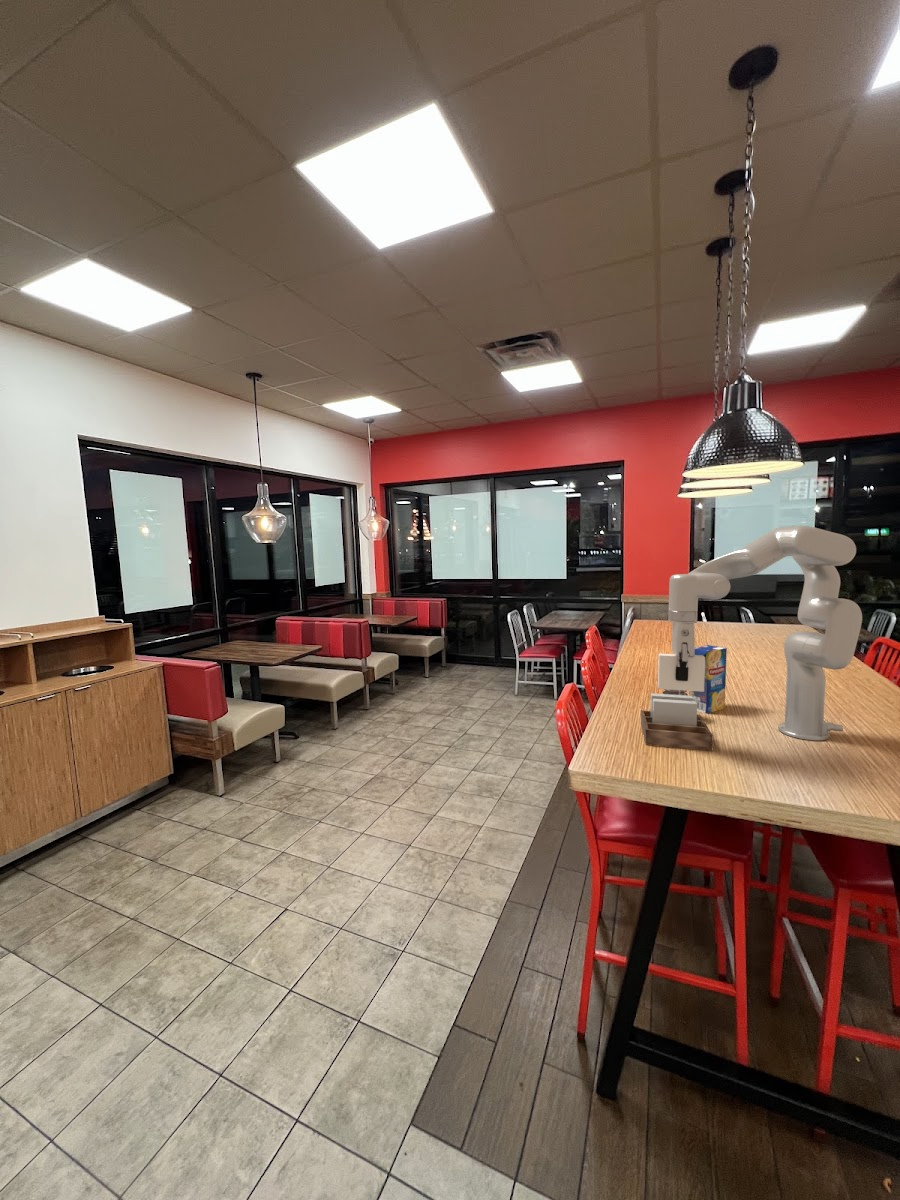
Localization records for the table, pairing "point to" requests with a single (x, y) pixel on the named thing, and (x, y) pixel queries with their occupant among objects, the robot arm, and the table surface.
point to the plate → (668, 673)
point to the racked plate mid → (674, 712)
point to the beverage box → (712, 679)
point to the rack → (676, 734)
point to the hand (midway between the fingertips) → (680, 678)
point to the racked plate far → (669, 698)
